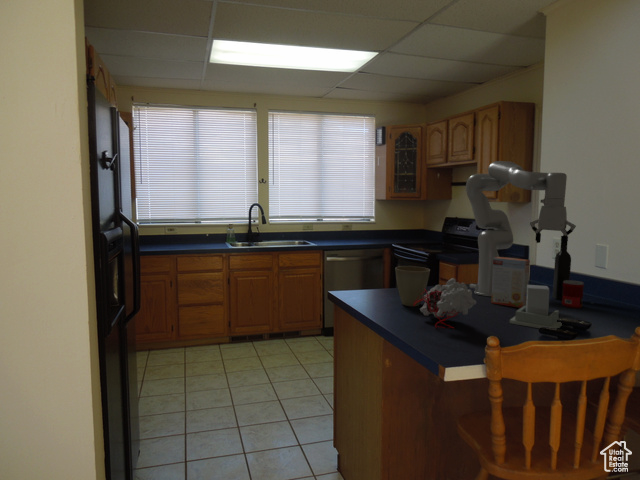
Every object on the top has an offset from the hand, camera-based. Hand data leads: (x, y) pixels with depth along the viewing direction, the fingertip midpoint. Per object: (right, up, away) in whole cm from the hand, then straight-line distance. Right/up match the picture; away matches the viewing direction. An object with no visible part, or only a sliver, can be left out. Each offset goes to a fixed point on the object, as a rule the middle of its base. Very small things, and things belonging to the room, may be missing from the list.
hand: (550, 243), depth 192 cm
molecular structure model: (-50, -30, -22) cm, 63 cm away
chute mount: (-14, -30, -17) cm, 37 cm away
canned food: (+15, -28, +12) cm, 34 cm away
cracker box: (-13, -27, +12) cm, 32 cm away
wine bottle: (+18, -27, +26) cm, 41 cm away
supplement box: (-14, -29, -17) cm, 36 cm away
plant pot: (-56, -27, +10) cm, 63 cm away
